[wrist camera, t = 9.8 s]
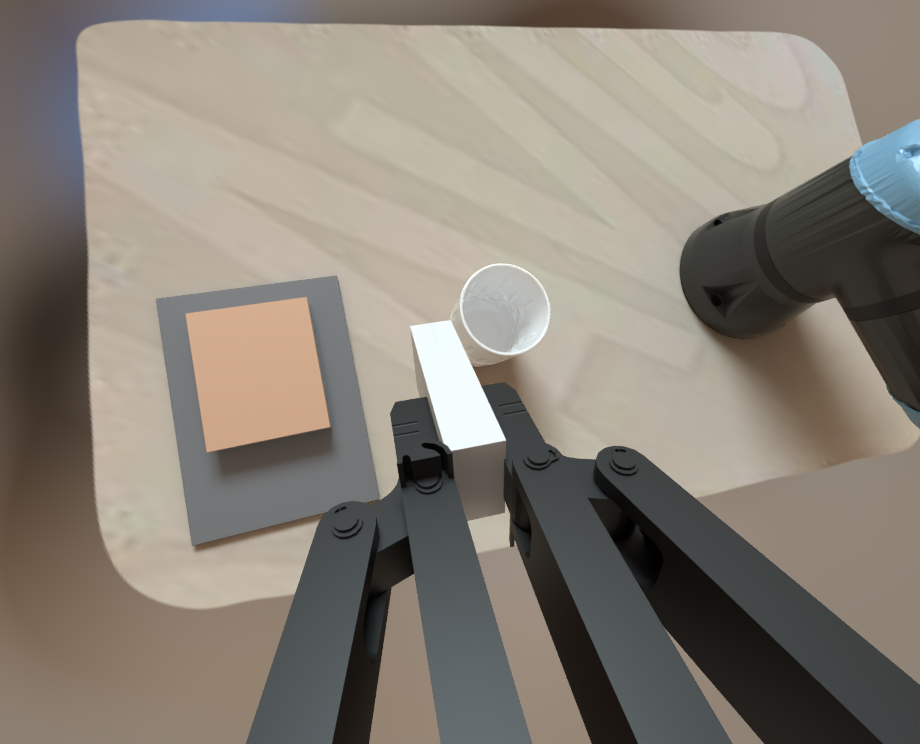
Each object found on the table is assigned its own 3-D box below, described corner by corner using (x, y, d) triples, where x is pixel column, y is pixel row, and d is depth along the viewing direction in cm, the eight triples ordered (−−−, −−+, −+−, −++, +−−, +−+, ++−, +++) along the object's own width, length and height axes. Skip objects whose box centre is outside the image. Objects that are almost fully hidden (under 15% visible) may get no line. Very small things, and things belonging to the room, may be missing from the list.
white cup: (524, 355, 47) (565, 334, 37) (459, 384, 45) (484, 370, 35) (494, 289, 47) (527, 251, 37) (427, 315, 45) (444, 282, 36)
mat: (379, 498, 42) (379, 498, 41) (194, 543, 38) (192, 545, 37) (337, 277, 44) (336, 275, 43) (159, 300, 40) (155, 298, 40)
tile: (330, 426, 39) (306, 296, 40) (206, 452, 36) (185, 313, 38) (332, 427, 41) (309, 304, 42) (216, 451, 39) (196, 320, 40)
